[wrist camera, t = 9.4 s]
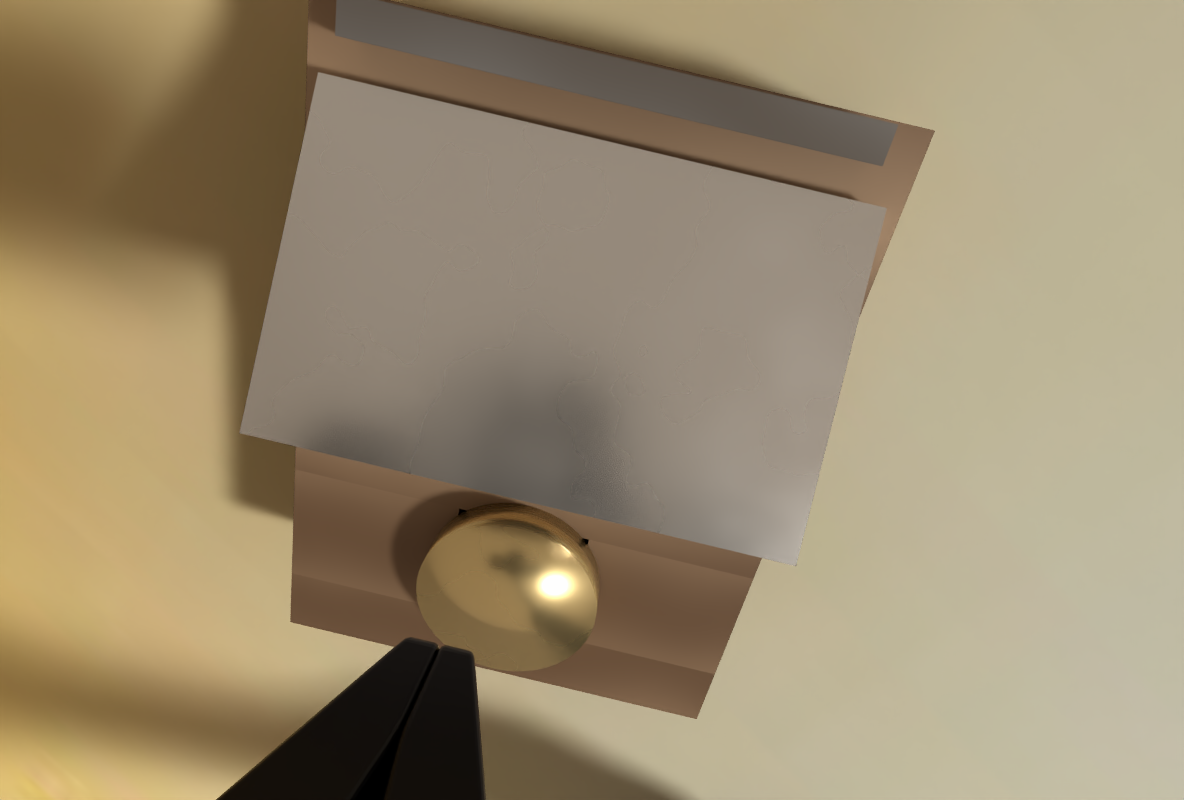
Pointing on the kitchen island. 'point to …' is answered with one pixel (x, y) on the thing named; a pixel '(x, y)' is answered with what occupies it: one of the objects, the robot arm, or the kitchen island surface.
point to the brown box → (424, 506)
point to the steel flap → (560, 319)
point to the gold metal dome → (510, 587)
